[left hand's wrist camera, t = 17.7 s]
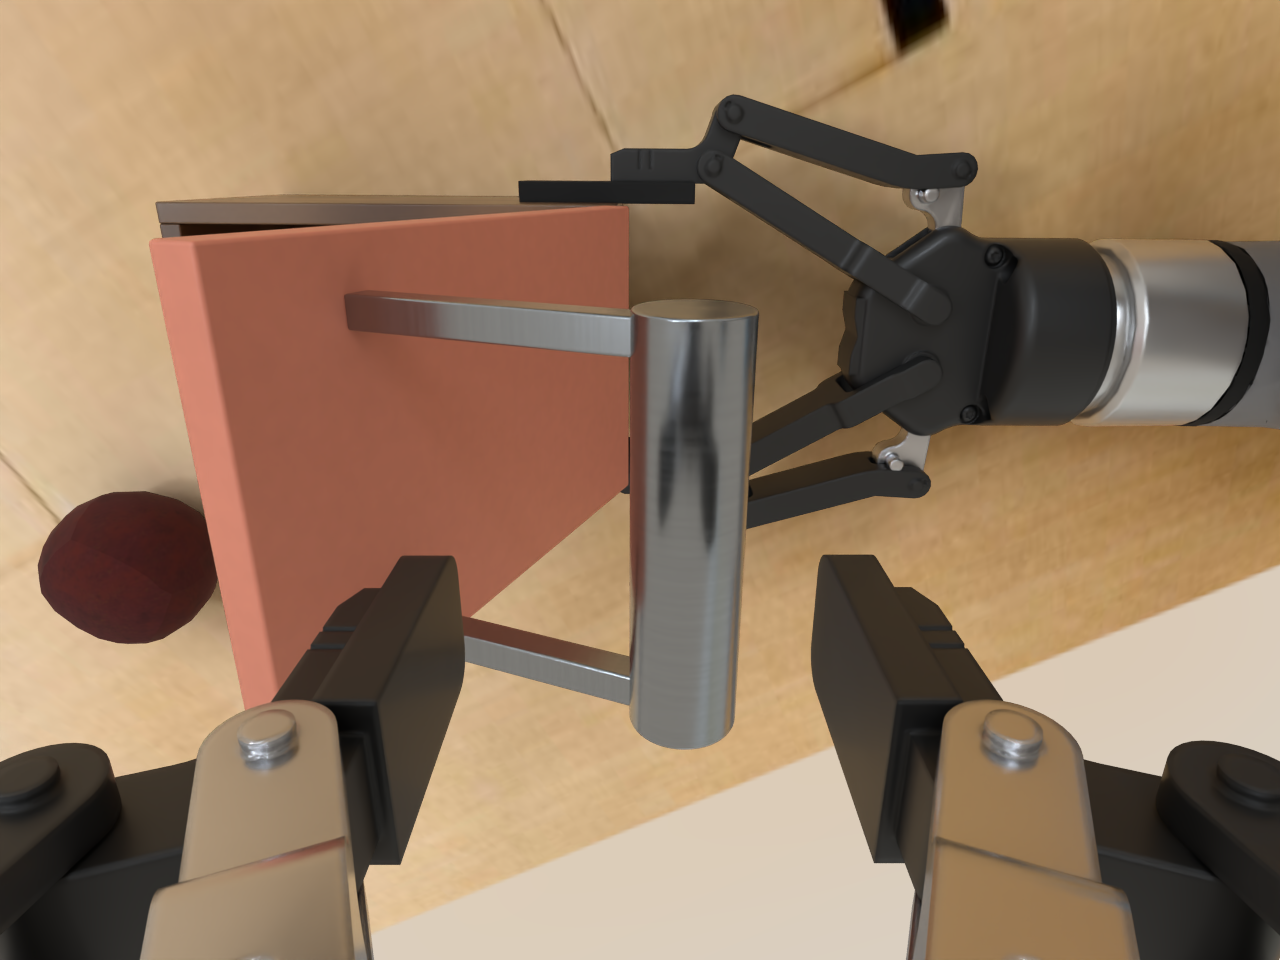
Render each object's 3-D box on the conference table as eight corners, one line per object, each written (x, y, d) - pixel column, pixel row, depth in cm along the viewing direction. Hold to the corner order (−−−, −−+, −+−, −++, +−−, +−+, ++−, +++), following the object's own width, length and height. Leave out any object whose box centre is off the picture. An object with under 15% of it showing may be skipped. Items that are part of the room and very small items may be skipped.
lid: (252, 755, 16) (669, 905, 13) (145, 238, 12) (686, 266, 9) (605, 481, 31) (842, 519, 27) (602, 205, 27) (875, 211, 24)
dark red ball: (211, 619, 45) (137, 696, 38) (78, 548, 43) (-23, 616, 37) (267, 520, 43) (199, 583, 36) (128, 442, 41) (31, 493, 34)
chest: (310, 404, 40) (209, 475, 31) (280, 194, 37) (154, 201, 27) (622, 406, 40) (617, 478, 31) (622, 197, 37) (616, 205, 27)
